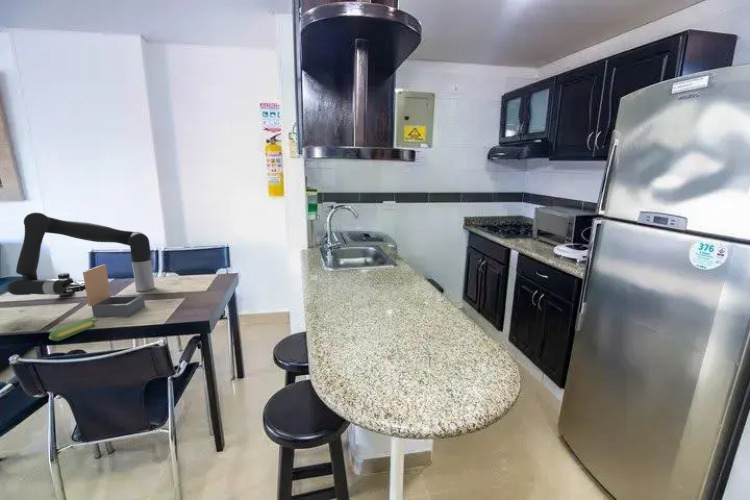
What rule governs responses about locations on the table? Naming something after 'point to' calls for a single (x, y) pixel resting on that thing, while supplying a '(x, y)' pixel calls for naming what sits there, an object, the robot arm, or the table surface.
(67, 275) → the supplement bottle
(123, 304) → the duct box
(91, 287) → the panel
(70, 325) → the edible corn
